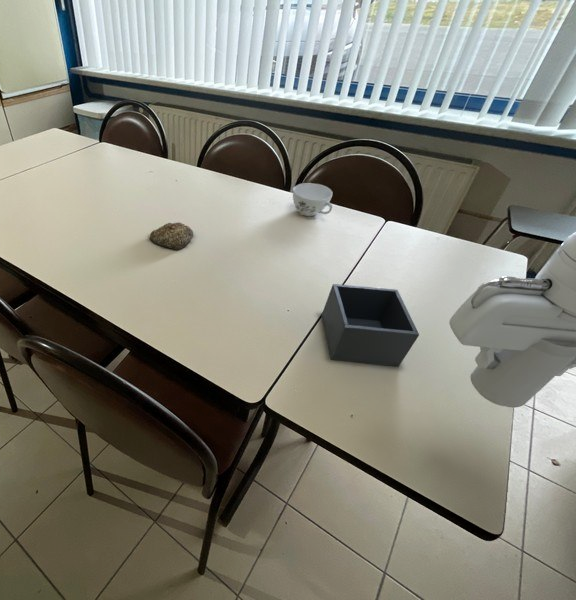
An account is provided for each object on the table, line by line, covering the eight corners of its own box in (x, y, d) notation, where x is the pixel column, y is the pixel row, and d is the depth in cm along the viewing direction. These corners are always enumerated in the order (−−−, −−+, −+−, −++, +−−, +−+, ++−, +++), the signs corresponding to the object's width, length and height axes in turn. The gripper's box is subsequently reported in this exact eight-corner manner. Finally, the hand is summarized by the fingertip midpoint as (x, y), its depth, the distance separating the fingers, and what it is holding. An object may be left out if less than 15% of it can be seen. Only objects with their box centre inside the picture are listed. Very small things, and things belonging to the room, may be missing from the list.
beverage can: (472, 401, 49) (528, 339, 41) (463, 366, 53) (513, 304, 45) (529, 417, 47) (600, 356, 39) (515, 379, 51) (576, 317, 44)
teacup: (280, 209, 127) (285, 187, 122) (306, 200, 132) (312, 179, 127) (313, 228, 118) (319, 205, 112) (339, 218, 122) (347, 196, 117)
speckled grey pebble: (176, 254, 107) (176, 239, 103) (144, 240, 112) (143, 226, 109) (201, 235, 114) (202, 221, 111) (170, 223, 120) (169, 209, 117)
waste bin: (398, 367, 76) (419, 334, 69) (331, 359, 77) (345, 327, 71) (380, 321, 86) (397, 289, 79) (321, 315, 87) (332, 283, 81)
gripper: (503, 294, 37) (439, 378, 46) (739, 314, 34) (622, 398, 44) (474, 259, 41) (421, 341, 50) (680, 274, 39) (585, 357, 48)
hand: (515, 368), depth 47 cm, fingers closed on beverage can, 6 cm apart
